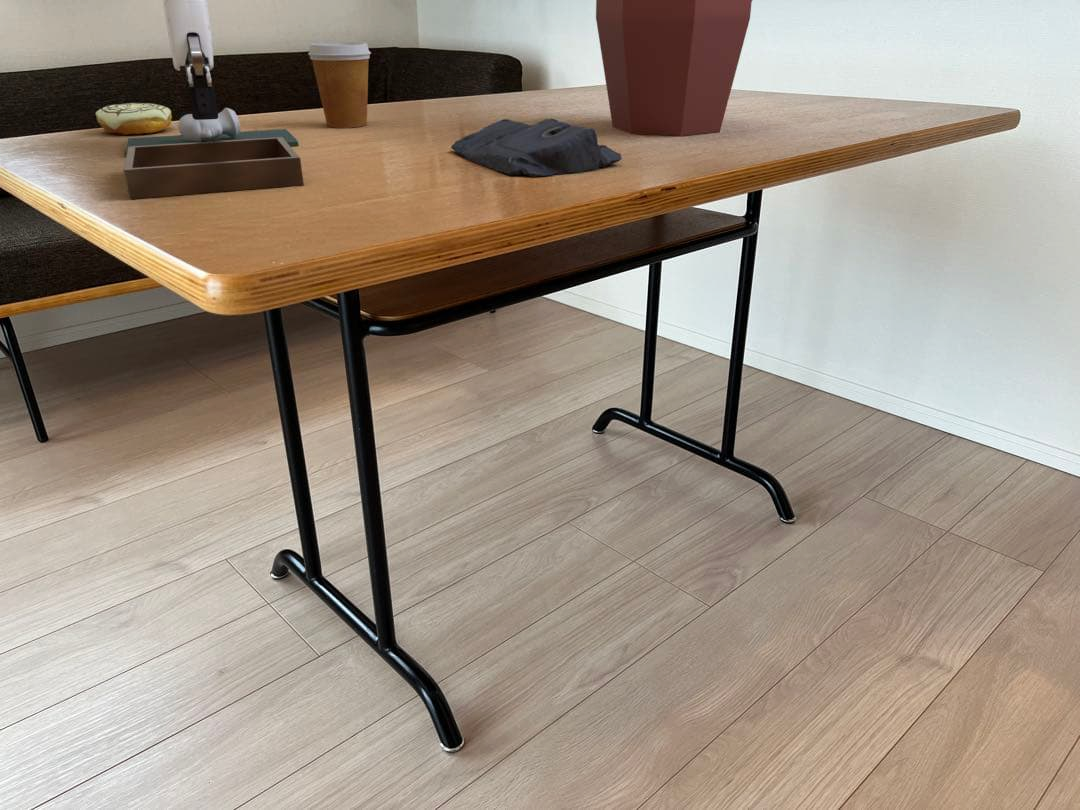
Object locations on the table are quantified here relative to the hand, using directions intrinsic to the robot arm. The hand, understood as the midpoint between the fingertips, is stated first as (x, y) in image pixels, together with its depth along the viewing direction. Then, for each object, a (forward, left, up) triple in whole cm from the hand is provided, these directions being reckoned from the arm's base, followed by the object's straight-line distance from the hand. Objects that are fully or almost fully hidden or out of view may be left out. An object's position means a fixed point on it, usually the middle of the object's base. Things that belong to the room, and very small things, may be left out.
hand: (204, 115), depth 114 cm
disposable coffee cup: (+21, +12, -4) cm, 25 cm away
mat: (0, +1, -4) cm, 4 cm away
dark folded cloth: (+37, -28, -4) cm, 47 cm away
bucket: (+66, -12, -4) cm, 68 cm away
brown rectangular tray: (-1, -25, -4) cm, 25 cm away
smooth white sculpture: (0, 0, -4) cm, 4 cm away
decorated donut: (-10, +19, -4) cm, 22 cm away
